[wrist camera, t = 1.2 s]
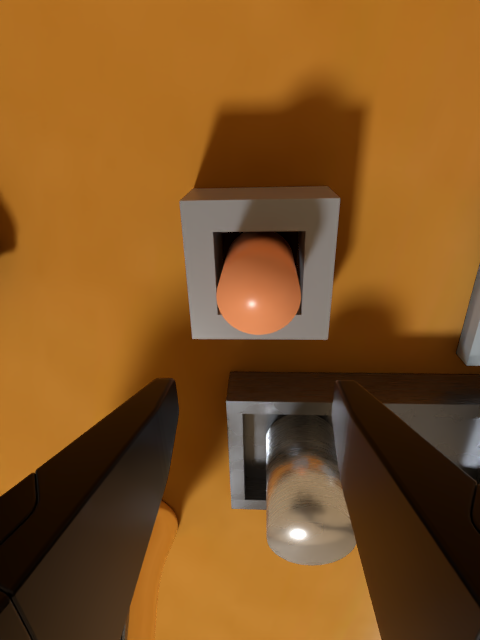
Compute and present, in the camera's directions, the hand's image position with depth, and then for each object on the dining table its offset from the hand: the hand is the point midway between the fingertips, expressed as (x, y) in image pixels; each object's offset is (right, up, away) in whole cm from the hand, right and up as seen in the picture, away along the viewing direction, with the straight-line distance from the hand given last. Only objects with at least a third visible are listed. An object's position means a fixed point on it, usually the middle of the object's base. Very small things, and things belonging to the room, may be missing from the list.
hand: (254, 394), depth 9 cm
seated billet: (+3, -5, +14) cm, 15 cm away
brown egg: (+1, +4, +9) cm, 10 cm away
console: (+1, +5, +10) cm, 11 cm away
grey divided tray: (+7, -5, +14) cm, 17 cm away
